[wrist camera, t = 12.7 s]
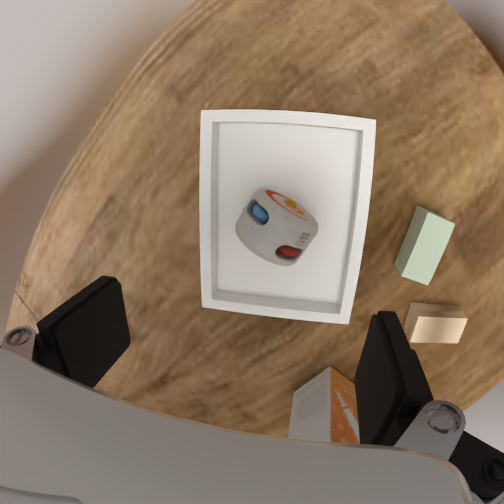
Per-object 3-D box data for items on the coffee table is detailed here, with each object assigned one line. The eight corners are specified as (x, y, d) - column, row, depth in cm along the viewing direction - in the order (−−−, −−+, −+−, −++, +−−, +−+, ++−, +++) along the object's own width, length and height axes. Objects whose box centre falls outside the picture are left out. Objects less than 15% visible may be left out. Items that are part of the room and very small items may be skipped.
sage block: (418, 272, 26) (428, 285, 23) (393, 263, 26) (401, 275, 24) (442, 216, 24) (455, 224, 21) (416, 204, 24) (428, 211, 22)
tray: (346, 310, 29) (348, 324, 26) (209, 295, 31) (201, 306, 29) (370, 122, 23) (376, 119, 20) (210, 113, 25) (201, 110, 23)
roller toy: (264, 175, 25) (251, 183, 20) (326, 215, 26) (330, 234, 20) (239, 217, 27) (221, 236, 22) (298, 255, 27) (295, 283, 22)
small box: (373, 394, 32) (384, 482, 20) (336, 418, 34) (334, 502, 22) (330, 363, 31) (330, 460, 19) (291, 391, 34) (278, 481, 22)
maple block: (457, 304, 26) (467, 318, 24) (448, 327, 27) (457, 343, 25) (410, 301, 27) (418, 316, 25) (403, 326, 28) (409, 342, 26)
